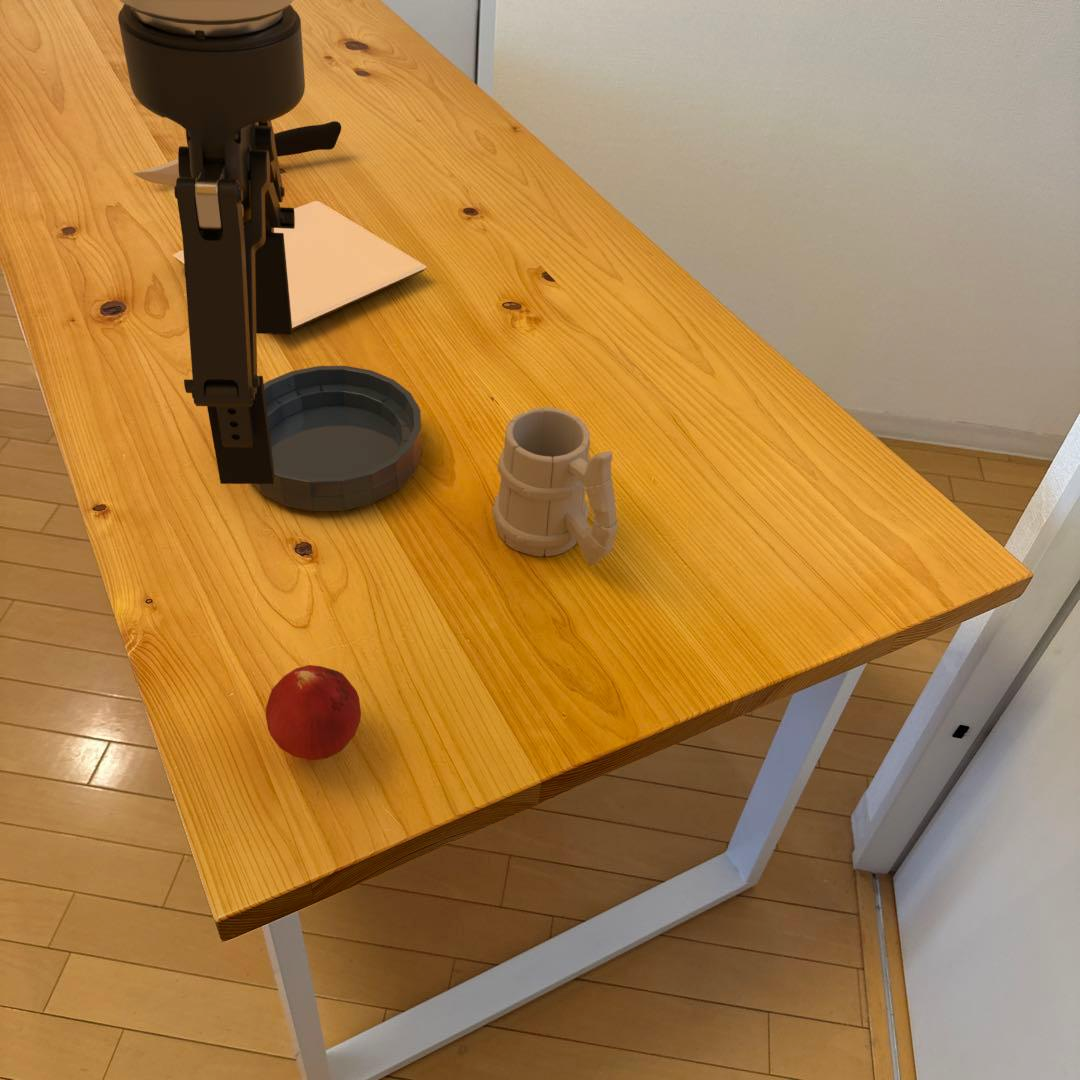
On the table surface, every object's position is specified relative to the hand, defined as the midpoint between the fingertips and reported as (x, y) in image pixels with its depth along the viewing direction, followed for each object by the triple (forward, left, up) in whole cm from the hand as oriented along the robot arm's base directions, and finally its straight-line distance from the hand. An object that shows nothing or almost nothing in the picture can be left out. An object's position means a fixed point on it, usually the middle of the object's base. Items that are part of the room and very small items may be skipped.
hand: (259, 399), depth 58 cm
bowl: (+2, +19, -21) cm, 28 cm away
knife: (-10, +71, -21) cm, 75 cm away
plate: (-2, +48, -21) cm, 53 cm away
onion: (+2, -10, -21) cm, 23 cm away
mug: (+20, +8, -21) cm, 30 cm away
